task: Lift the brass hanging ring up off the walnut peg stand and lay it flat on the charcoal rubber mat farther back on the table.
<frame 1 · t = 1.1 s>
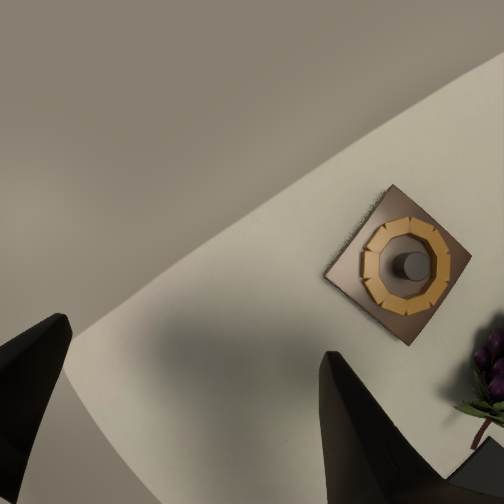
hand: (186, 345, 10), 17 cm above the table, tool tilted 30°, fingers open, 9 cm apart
peg stand: (396, 265, 24), on the table
mat: (483, 485, 21), on the table
fruit: (494, 359, 22), on the table
ring: (404, 266, 22), point 2 cm above the table, touching peg stand
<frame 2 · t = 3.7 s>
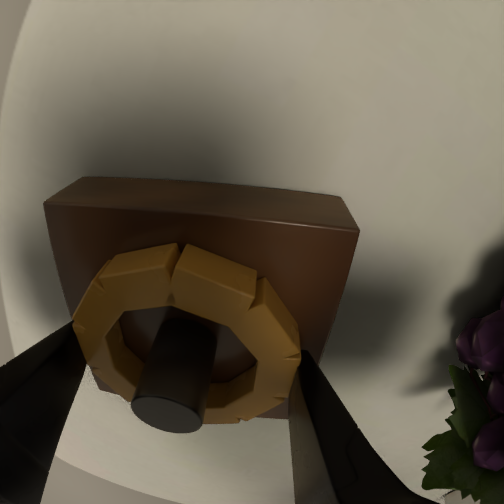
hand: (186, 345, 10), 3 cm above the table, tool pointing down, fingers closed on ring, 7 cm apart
photo printer: (470, 481, 30), on the table
peg stand: (200, 294, 12), on the table
fruit: (502, 311, 12), on the table
ring: (186, 340, 10), point 3 cm above the table, touching gripper, peg stand
when the fingers open (1 cm above the table, at t = 11.1 s): ring stays where it is, resting on mat.
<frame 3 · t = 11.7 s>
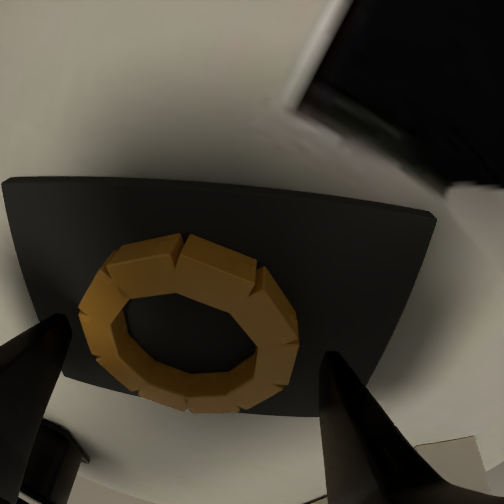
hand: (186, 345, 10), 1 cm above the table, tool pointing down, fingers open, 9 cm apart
photo printer: (321, 502, 23), on the table
white boxy piece: (425, 456, 18), on the table
mat: (194, 319, 11), on the table
ring: (188, 329, 10), point 1 cm above the table, touching mat
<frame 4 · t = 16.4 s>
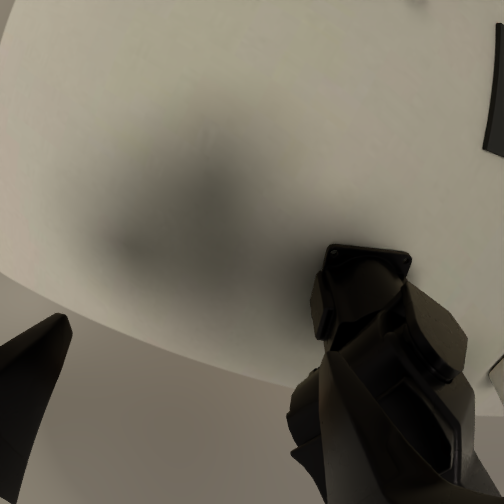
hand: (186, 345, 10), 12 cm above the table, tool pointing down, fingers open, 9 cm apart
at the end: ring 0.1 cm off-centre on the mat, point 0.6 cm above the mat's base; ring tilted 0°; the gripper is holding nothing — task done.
